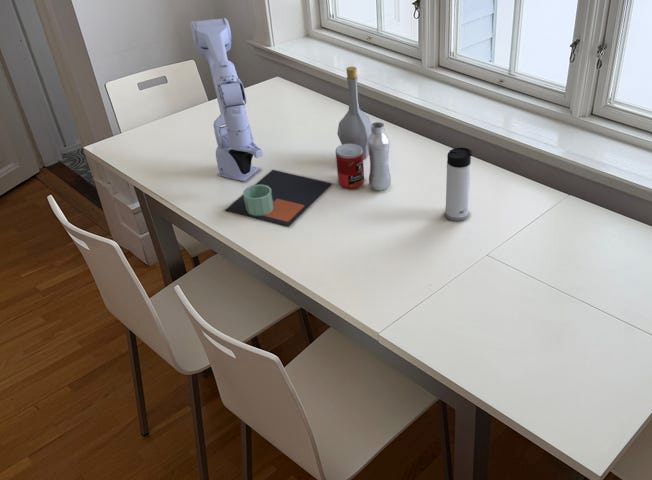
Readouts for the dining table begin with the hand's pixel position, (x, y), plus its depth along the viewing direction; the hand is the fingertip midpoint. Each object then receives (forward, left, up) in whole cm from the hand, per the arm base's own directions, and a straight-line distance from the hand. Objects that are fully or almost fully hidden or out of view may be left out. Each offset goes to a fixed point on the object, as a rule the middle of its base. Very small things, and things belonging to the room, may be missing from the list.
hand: (245, 172), depth 184 cm
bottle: (+18, +31, -9) cm, 37 cm away
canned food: (+22, +19, -9) cm, 31 cm away
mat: (+7, +4, -8) cm, 12 cm away
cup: (+6, -4, -8) cm, 11 cm away
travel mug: (+57, +15, -9) cm, 60 cm away
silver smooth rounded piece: (+31, +20, -9) cm, 38 cm away
